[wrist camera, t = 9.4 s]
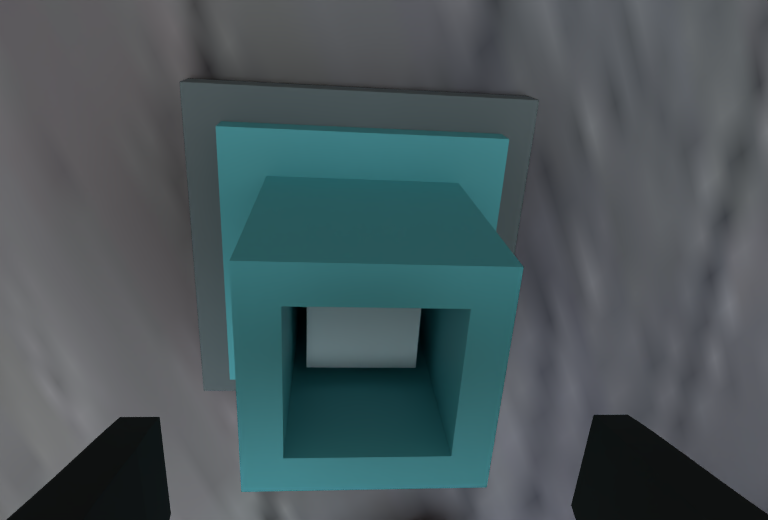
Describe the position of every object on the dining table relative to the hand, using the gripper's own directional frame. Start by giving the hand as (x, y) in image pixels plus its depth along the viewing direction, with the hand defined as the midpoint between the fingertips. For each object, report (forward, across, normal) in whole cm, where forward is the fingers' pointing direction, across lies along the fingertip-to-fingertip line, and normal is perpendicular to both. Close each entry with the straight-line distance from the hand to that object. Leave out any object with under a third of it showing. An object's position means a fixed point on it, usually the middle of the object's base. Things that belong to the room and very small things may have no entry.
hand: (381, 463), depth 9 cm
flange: (+9, 0, 0) cm, 9 cm away
